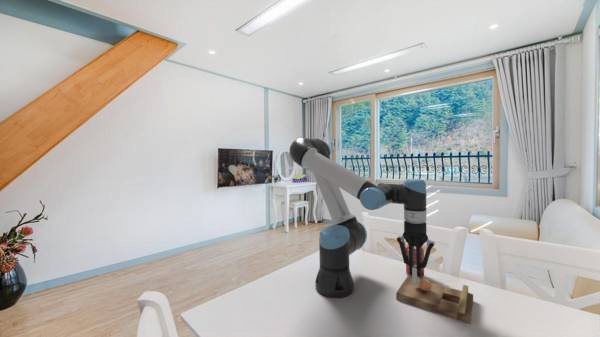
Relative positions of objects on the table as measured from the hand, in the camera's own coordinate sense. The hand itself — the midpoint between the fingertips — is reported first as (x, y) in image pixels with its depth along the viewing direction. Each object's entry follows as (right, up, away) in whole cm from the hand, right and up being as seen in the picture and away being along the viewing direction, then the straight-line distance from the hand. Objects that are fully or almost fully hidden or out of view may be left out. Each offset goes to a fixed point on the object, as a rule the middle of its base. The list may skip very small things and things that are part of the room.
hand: (415, 283), depth 92 cm
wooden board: (+5, -4, -4) cm, 8 cm away
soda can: (+7, -4, +15) cm, 16 cm away
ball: (+3, 0, -2) cm, 3 cm away
